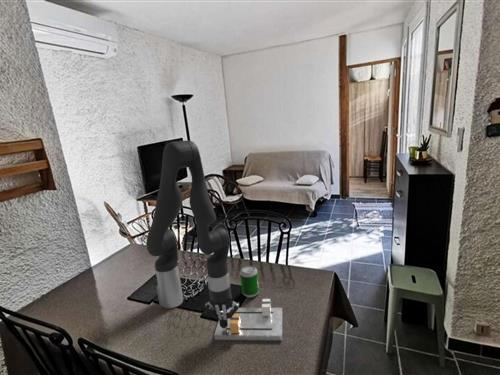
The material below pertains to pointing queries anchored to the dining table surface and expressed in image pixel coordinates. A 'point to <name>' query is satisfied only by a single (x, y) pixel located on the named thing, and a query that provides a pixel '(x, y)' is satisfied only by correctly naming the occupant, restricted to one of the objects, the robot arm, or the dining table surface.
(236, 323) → the fader cap orange
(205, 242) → the robot arm
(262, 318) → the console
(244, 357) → the dining table surface
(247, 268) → the soda can
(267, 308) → the fader cap cream
